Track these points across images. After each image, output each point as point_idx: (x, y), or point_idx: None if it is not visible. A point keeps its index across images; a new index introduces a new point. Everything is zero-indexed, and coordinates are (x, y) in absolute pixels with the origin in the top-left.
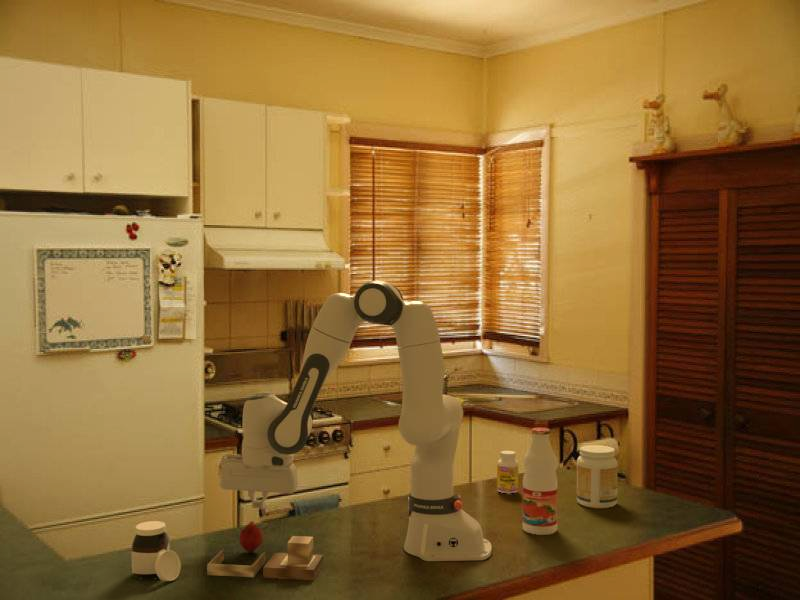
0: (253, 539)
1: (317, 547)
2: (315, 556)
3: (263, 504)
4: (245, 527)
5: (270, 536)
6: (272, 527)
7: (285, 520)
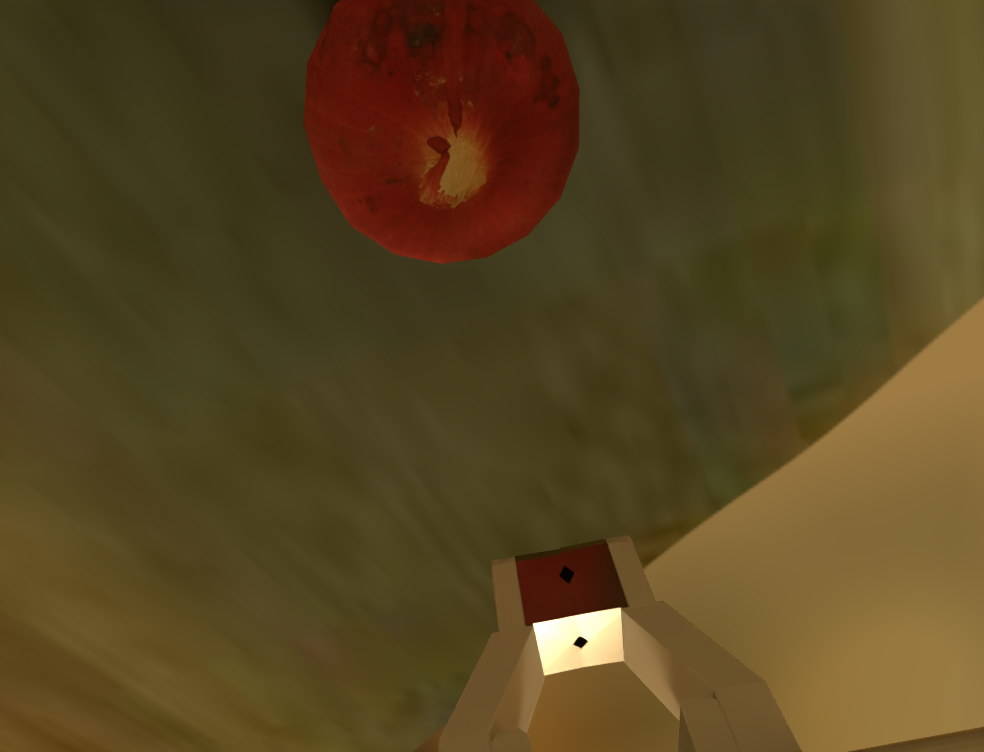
0: (341, 1)
1: (20, 399)
2: None
3: (498, 608)
4: (514, 92)
5: (477, 458)
6: None
7: None
